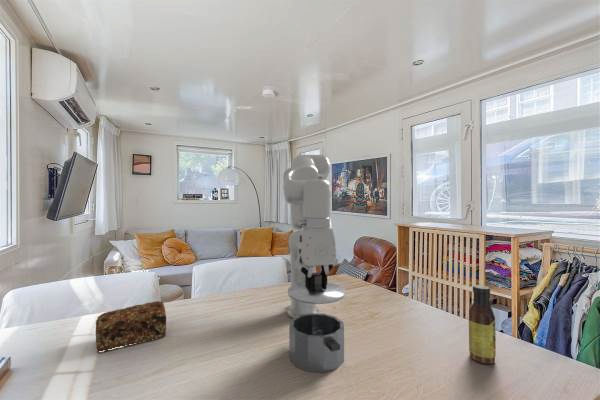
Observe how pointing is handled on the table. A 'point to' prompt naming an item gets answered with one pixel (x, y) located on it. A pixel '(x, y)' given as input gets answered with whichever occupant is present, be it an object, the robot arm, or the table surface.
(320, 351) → the pot
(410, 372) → the table surface
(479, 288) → the sauce bottle
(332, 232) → the robot arm
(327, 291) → the lid
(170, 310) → the table surface
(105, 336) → the bread
